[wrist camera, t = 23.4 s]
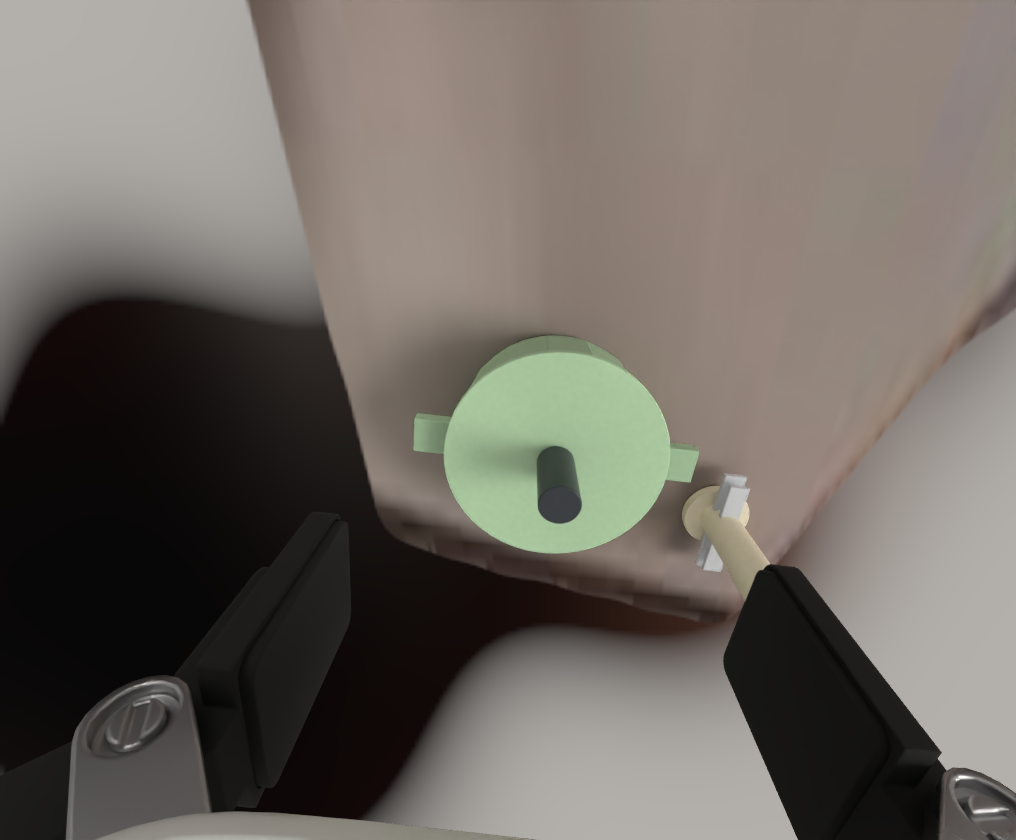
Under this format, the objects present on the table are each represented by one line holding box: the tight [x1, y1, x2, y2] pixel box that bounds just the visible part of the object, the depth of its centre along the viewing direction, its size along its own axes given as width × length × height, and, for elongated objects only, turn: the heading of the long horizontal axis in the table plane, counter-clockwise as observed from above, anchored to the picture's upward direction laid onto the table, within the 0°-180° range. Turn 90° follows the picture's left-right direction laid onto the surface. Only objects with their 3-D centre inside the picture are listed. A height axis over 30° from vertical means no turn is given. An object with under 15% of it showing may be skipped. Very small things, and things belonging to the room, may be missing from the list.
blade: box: [682, 473, 770, 601], centre depth 33 cm, size 8×5×10 cm, turn 173°
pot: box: [413, 335, 699, 483], centre depth 33 cm, size 13×19×6 cm
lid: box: [444, 350, 670, 553], centre depth 28 cm, size 14×14×6 cm
